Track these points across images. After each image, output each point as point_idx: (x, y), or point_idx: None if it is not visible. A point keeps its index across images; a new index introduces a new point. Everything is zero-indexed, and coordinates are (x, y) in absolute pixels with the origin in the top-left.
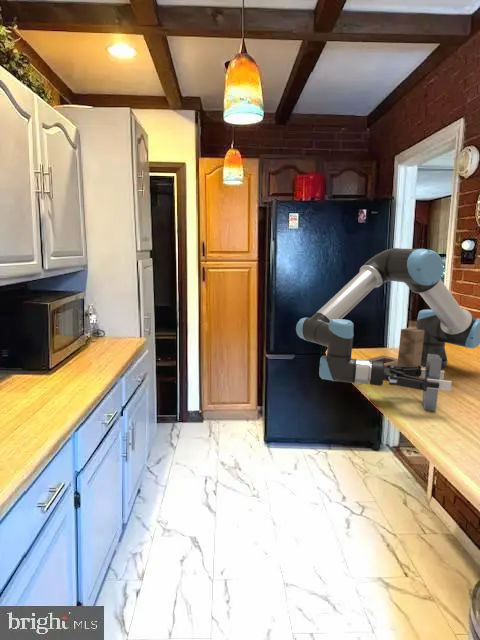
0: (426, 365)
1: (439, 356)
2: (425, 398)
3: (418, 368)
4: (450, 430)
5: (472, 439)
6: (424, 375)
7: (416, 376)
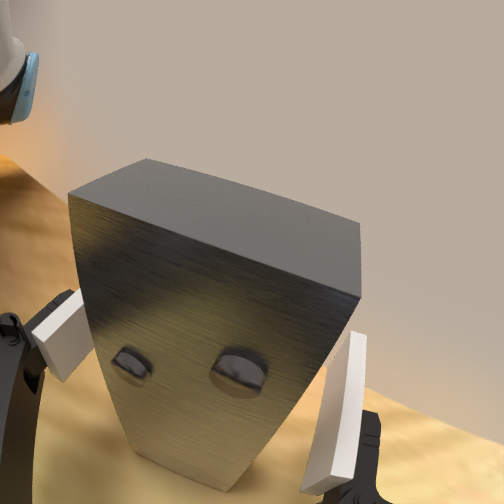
0: (95, 320)
1: (222, 179)
2: (214, 475)
3: (12, 344)
4: (414, 470)
5: (451, 429)
6: (71, 357)
7: (39, 398)
